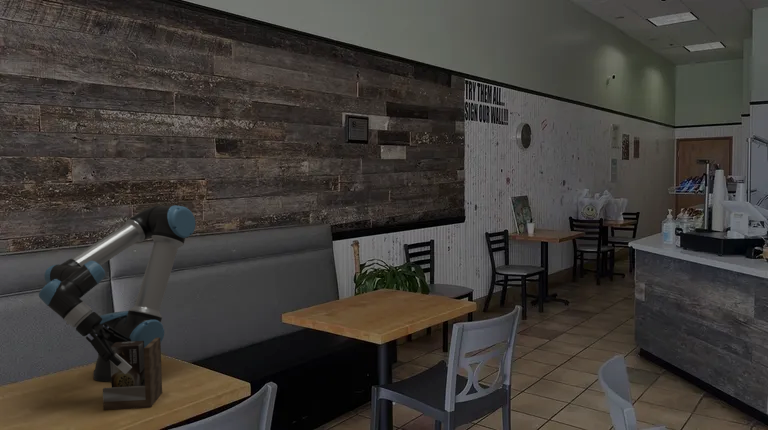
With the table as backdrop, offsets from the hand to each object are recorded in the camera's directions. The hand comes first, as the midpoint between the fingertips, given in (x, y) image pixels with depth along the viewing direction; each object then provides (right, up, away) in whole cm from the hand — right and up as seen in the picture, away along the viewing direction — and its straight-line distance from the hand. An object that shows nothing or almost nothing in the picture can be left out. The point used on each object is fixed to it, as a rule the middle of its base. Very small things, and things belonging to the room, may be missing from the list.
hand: (135, 364), depth 194 cm
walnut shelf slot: (-1, -12, 0) cm, 12 cm away
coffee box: (-2, -9, 0) cm, 10 cm away
